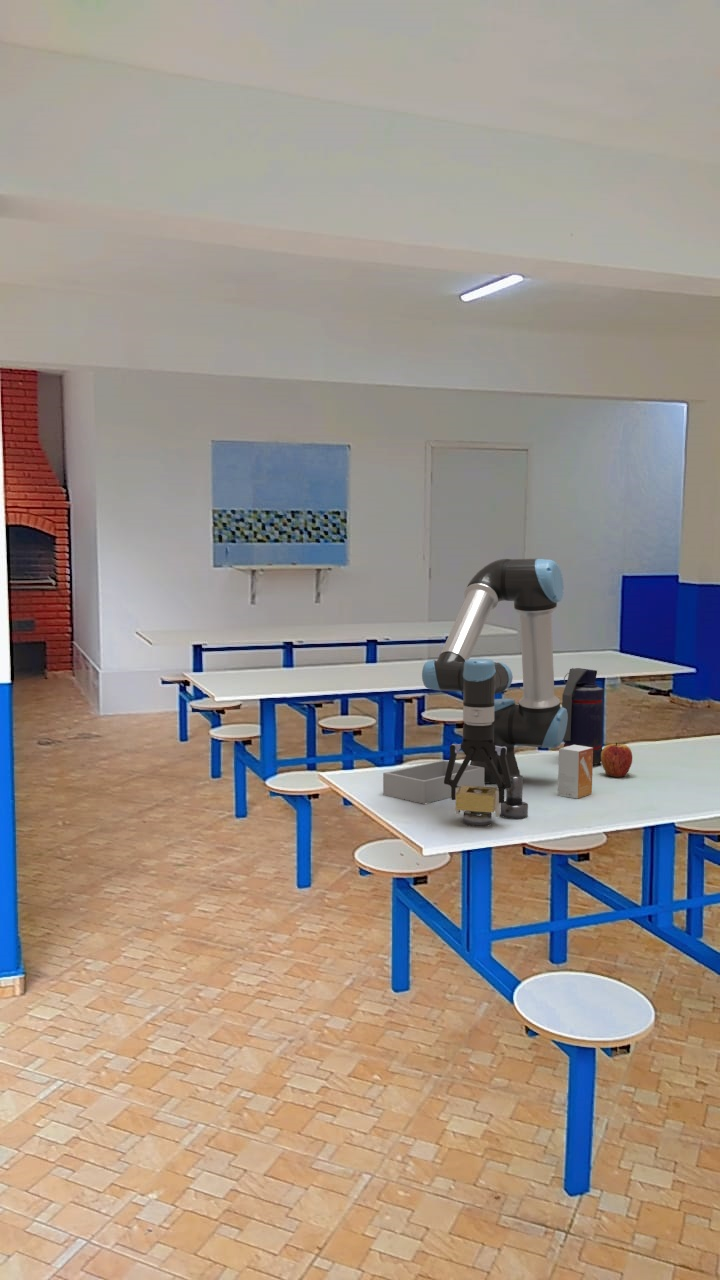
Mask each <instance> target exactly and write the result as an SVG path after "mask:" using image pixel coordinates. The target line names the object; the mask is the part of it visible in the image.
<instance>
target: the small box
mask: <svg viewBox="0 0 720 1280" xmlns="http://www.w3.org/2000/svg"><path fill="white" fill-rule="evenodd" d="M593 765H594V764H593V747H586V746H579V745H571V746H567V747H564V746H563V747H561V748H559V749H558V771H557V773H558V775H557V776H558V778H557V779H558V781H557V796H558V797H559V796H561V797H564V798H565V797H566V798H572V799H581V798H584V797H585V796H586V797H587V796H589V795H592V794H593V767H594V766H593Z"/></svg>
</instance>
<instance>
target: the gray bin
mask: <svg viewBox="0 0 720 1280" xmlns="http://www.w3.org/2000/svg"><path fill="white" fill-rule="evenodd" d="M448 762H449V760H445V759H442V760H438V761H432V762H428V763H423V764H419V765H418V764H417V765H414V766H409V767H405V768H398V769H395V770H390V771H385V772H383V779H382V781H383V782H382V784H383V785H382V789H383V790H382V792H383V793H382V794H383V795H384V796H389V797H393V798H397V799H400V800H404V799H405V801H409V800H410V802H413V801H414V803H417V802H420V803H419V804H421V803H423V804H422V805H426V804H425V803H427V804H431V803H434V801H435V802H439V801H442V800H446V799H449V798H451V786H450V785H447V784H444V779H445V775H446V770H447V766H448ZM462 763H463V762H462ZM462 763H461V762H456V761H455V764H454V768H453V772H452V776H451V779H452V780H454V778H455V776H456V774H457V772H458V770H459V768H460V767H461V765H462ZM463 785H465V786H480V787H485V783H484V768H483V767H478V766H472V765H470V764H468V765H467V767H466V769H465V771H464V773H463V775H462V776H461V778H460V780H459V782H458V784H457V786H461V787H462V786H463ZM451 799H452V798H451ZM438 800H439V801H438ZM430 802H431V803H430Z"/></svg>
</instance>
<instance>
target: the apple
mask: <svg viewBox="0 0 720 1280" xmlns="http://www.w3.org/2000/svg"><path fill="white" fill-rule="evenodd" d="M632 763H633V754H632V750H631V748H630V746H628V745H627V744H624V743H623V744H618V742H615V743H611V744H610V743H609V744H607V745H605V746H604V747H602V752H601V765H602V768H603V769H604V770H603V771H604V772H605V774H607V775H608V776H611V777H614V778H615V777H616V778H622V777H625V776H626V775H628V773H629V772H630V768H631V766H632Z"/></svg>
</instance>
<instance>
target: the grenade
mask: <svg viewBox="0 0 720 1280" xmlns="http://www.w3.org/2000/svg"><path fill="white" fill-rule="evenodd" d="M597 675H598V670H594V669H587V668H580V667H579V668H578V667H576V668H573V667H572V668H570V669H569V672H567V673H565V675H564V677H563V682H564V684H565V686H564V690H563V692H562V698H561V701H562V702H561V707H563V708H565V709H566V710H567V713H568V720H567V727H566V732H565V735H564V738H563V743H564V744H563V748H564V747H567V746H571V745H579V746H586V747H593V765H598V766H601V765H602V762H601V752H602V750H603V744H604V742H603V740H604V736H603V734H604V701H603V699H604V695H605V693H604V691H605V690H604V688H603V687H600V686H599V685H598V684H596V679H597ZM566 678H567V681H566Z"/></svg>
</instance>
